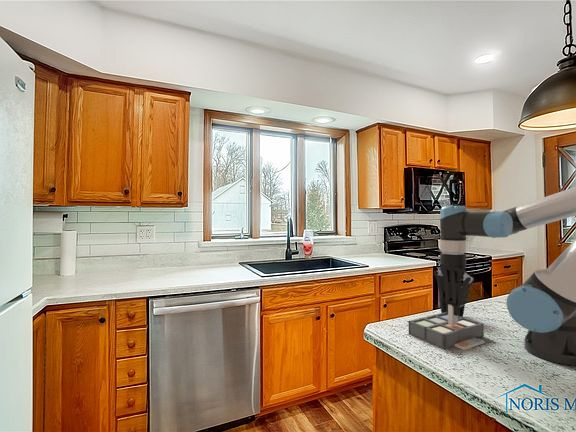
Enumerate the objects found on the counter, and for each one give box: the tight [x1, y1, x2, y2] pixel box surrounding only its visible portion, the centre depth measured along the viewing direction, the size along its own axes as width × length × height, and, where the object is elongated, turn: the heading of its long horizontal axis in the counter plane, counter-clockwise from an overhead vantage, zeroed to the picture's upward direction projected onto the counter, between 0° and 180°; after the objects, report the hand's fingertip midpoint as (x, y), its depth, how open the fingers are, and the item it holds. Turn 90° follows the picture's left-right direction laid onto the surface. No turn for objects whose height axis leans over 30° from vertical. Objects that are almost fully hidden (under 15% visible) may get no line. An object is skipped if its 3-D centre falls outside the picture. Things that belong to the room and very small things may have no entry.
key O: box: [458, 320, 475, 326], centre depth 102 cm, size 4×4×2 cm
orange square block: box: [446, 324, 465, 330], centre depth 99 cm, size 4×4×2 cm
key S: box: [431, 326, 452, 333], centre depth 96 cm, size 4×4×2 cm
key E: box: [417, 321, 434, 327], centre depth 102 cm, size 4×4×2 cm
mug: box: [438, 293, 466, 317], centre depth 119 cm, size 12×9×10 cm
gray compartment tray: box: [408, 312, 486, 351], centre depth 100 cm, size 17×20×4 cm
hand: (452, 324), depth 99 cm, fingers closed
